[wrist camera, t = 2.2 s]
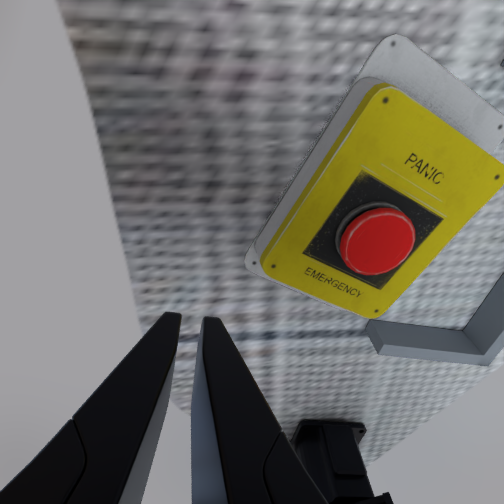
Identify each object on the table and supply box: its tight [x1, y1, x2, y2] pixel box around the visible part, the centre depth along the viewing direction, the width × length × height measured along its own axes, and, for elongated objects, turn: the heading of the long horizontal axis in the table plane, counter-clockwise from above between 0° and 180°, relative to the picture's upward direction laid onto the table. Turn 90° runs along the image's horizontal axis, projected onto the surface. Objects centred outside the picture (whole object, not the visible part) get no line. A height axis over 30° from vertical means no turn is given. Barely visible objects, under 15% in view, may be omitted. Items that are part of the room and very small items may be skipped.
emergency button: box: [244, 34, 504, 319], centre depth 19 cm, size 9×4×15 cm
